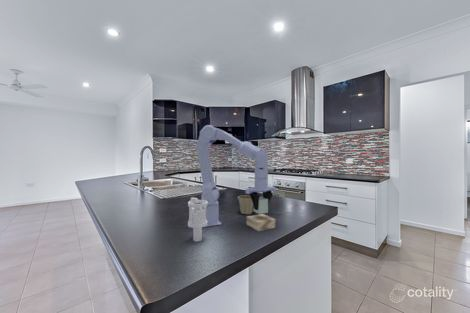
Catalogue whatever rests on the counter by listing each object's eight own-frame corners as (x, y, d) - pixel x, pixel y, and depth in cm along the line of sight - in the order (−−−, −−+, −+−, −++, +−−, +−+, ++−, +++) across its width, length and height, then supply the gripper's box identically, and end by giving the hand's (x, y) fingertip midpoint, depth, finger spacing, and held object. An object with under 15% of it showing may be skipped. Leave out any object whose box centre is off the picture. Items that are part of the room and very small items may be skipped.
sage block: (259, 213, 85) (259, 199, 85) (253, 211, 89) (253, 197, 89) (267, 212, 87) (268, 198, 87) (262, 210, 91) (262, 197, 91)
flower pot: (248, 216, 102) (248, 199, 101) (234, 213, 107) (234, 197, 107) (258, 212, 109) (258, 196, 109) (244, 209, 115) (244, 194, 115)
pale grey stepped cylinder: (198, 234, 78) (199, 196, 78) (211, 239, 74) (211, 198, 74) (183, 240, 73) (184, 198, 73) (196, 245, 68) (196, 201, 68)
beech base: (258, 232, 82) (258, 222, 82) (246, 225, 90) (246, 216, 90) (275, 228, 86) (275, 219, 86) (262, 222, 94) (262, 213, 94)
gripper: (251, 179, 81) (251, 213, 81) (280, 178, 87) (280, 209, 87) (243, 177, 87) (243, 208, 88) (270, 176, 94) (270, 205, 94)
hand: (260, 208), depth 88 cm, fingers closed on sage block, 4 cm apart
